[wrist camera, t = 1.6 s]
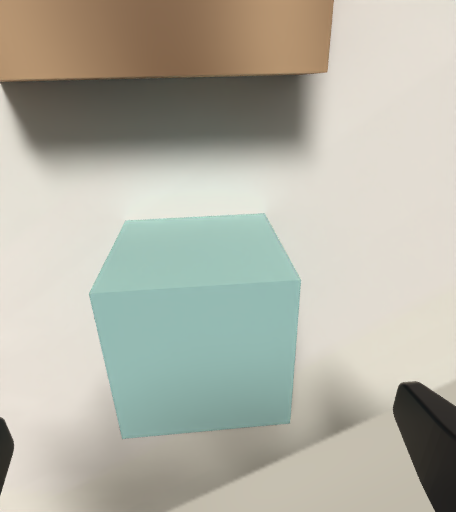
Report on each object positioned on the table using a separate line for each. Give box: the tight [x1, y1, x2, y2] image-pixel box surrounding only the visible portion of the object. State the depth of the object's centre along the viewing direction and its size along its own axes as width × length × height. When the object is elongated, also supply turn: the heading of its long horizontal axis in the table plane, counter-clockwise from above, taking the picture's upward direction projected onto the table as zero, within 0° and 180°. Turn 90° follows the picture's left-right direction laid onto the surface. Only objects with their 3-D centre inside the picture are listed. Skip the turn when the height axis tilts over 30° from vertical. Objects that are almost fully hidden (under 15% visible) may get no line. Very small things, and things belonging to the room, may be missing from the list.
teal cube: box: [89, 213, 301, 439], centre depth 12 cm, size 5×5×5 cm
